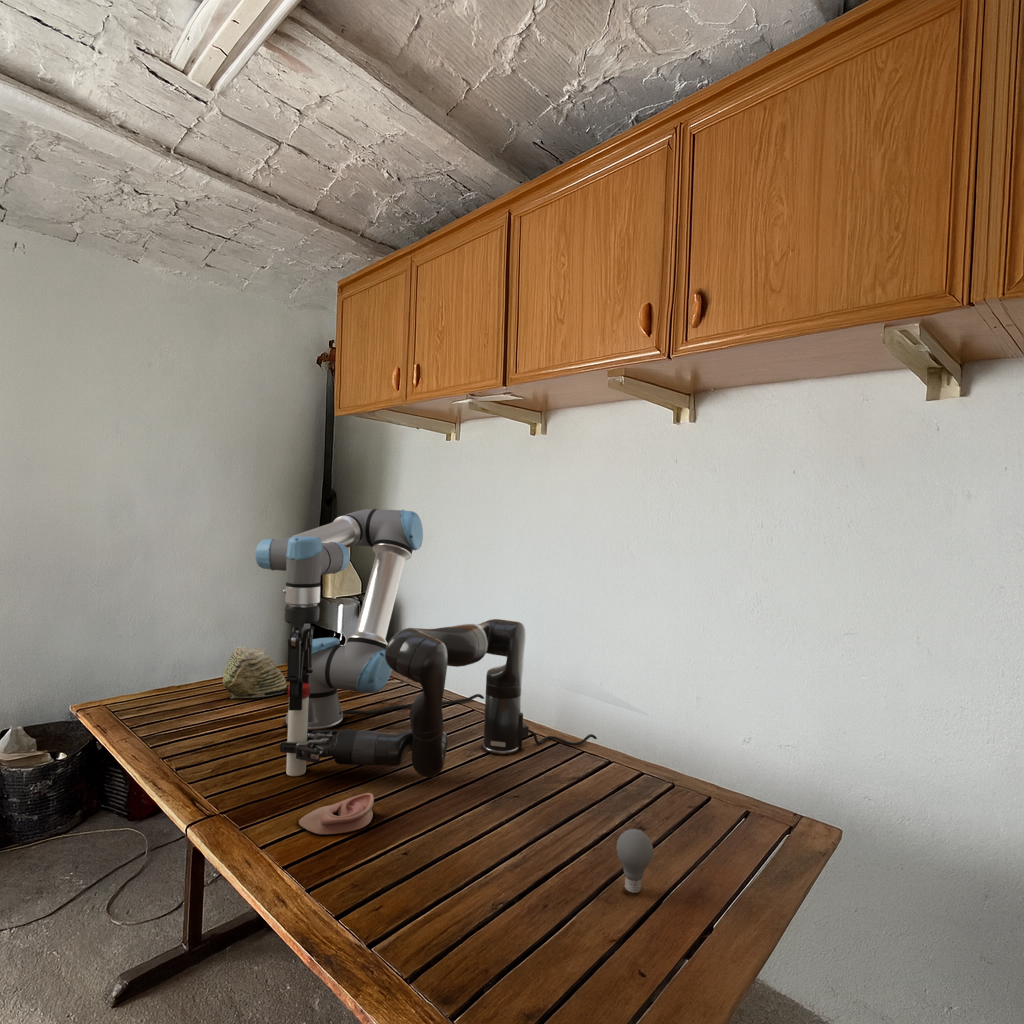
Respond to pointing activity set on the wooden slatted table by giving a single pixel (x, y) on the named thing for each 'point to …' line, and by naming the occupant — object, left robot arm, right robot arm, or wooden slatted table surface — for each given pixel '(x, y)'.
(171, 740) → the wooden slatted table surface
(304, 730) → the white tube
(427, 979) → the wooden slatted table surface
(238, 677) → the fossil
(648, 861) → the light bulb
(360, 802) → the anatomical model
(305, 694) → the lid
